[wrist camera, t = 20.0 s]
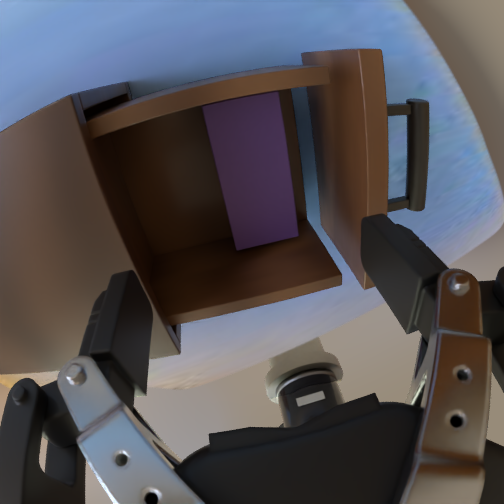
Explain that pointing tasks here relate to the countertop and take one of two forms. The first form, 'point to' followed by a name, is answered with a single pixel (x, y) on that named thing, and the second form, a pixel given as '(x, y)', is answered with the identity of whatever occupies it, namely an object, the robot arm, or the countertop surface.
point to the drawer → (210, 194)
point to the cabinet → (61, 236)
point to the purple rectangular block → (253, 167)
